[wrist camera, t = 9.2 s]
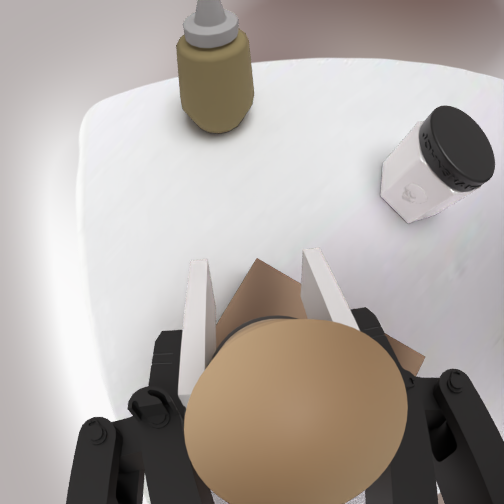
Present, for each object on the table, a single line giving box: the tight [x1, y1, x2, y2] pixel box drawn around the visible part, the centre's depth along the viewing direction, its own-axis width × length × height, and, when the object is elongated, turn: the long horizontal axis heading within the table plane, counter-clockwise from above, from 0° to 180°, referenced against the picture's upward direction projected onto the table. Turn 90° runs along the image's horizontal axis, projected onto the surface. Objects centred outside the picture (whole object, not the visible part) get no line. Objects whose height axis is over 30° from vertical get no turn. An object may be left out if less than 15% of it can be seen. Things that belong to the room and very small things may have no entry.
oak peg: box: [184, 315, 408, 504], centre depth 10 cm, size 4×4×12 cm
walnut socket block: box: [216, 258, 425, 377], centre depth 24 cm, size 16×16×8 cm
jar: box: [380, 106, 495, 223], centre depth 26 cm, size 9×8×12 cm
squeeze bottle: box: [176, 0, 254, 133], centre depth 25 cm, size 8×8×18 cm
